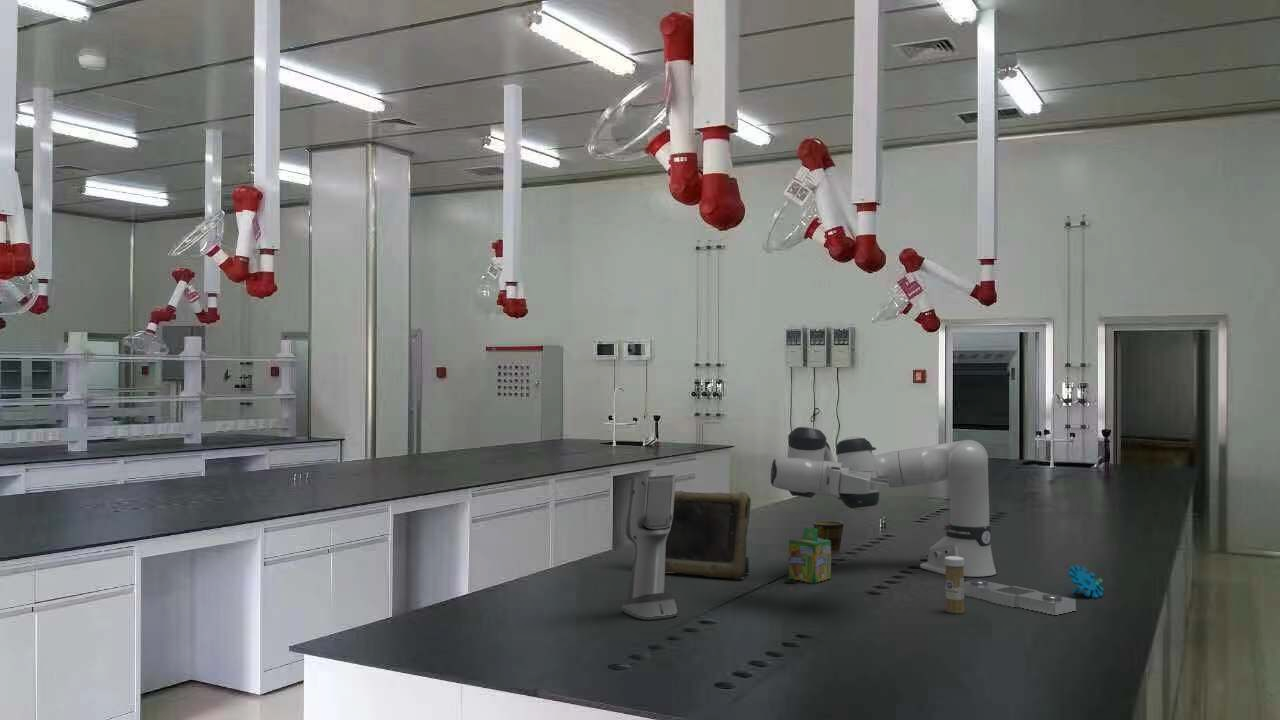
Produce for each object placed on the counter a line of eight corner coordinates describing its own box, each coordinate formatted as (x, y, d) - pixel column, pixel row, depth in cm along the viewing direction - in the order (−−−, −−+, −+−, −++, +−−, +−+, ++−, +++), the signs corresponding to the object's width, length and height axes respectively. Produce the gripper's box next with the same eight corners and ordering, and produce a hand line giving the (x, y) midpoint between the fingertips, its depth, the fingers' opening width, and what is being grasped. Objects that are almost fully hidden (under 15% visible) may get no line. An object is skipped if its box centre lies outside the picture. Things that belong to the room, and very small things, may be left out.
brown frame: (638, 575, 294) (636, 491, 294) (654, 566, 307) (653, 486, 307) (742, 582, 281) (741, 495, 282) (755, 573, 294) (754, 489, 295)
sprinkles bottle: (942, 612, 242) (941, 557, 242) (950, 608, 246) (949, 555, 246) (960, 614, 239) (959, 559, 239) (967, 611, 243) (966, 556, 243)
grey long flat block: (955, 594, 261) (955, 581, 261) (980, 590, 266) (979, 576, 266) (1053, 616, 236) (1052, 601, 236) (1078, 611, 241) (1077, 596, 241)
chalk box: (788, 580, 283) (787, 528, 283) (805, 575, 290) (804, 525, 290) (815, 584, 277) (814, 531, 277) (832, 579, 283) (831, 528, 284)
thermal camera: (641, 622, 236) (639, 477, 237) (619, 611, 248) (617, 473, 248) (683, 616, 241) (681, 474, 242) (660, 606, 253) (658, 470, 253)
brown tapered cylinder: (821, 548, 333) (821, 519, 334) (848, 551, 328) (848, 521, 328) (804, 554, 323) (803, 524, 323) (832, 557, 317) (831, 526, 317)
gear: (1084, 594, 252) (1064, 562, 259) (1069, 607, 255) (1050, 575, 262) (1115, 596, 256) (1094, 564, 263) (1100, 609, 259) (1080, 577, 266)
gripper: (834, 487, 261) (887, 493, 258) (830, 495, 241) (888, 502, 238) (836, 463, 261) (889, 469, 258) (833, 469, 241) (890, 476, 238)
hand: (889, 485), depth 247 cm, fingers open, 8 cm apart
